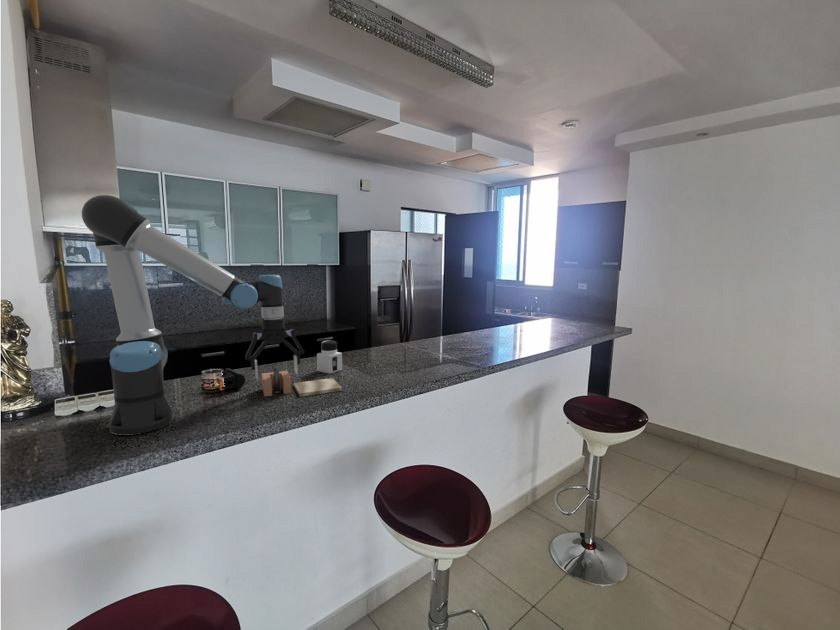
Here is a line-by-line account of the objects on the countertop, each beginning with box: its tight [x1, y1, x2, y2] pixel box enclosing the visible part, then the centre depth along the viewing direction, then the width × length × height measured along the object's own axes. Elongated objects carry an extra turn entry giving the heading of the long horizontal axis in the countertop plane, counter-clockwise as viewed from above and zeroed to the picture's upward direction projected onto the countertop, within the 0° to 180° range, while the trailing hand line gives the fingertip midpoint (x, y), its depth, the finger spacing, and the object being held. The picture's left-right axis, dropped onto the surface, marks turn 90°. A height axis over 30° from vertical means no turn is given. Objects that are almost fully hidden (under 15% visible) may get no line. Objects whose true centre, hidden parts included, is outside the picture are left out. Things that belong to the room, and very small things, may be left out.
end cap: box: [220, 368, 246, 394], centre depth 143 cm, size 10×7×7 cm
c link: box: [261, 370, 292, 397], centre depth 141 cm, size 9×9×6 cm
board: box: [293, 377, 343, 398], centre depth 144 cm, size 15×13×1 cm
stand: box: [272, 367, 282, 395], centre depth 139 cm, size 3×3×9 cm
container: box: [316, 339, 343, 375], centre depth 167 cm, size 8×8×13 cm
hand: (277, 375), depth 141 cm, fingers open, 13 cm apart
